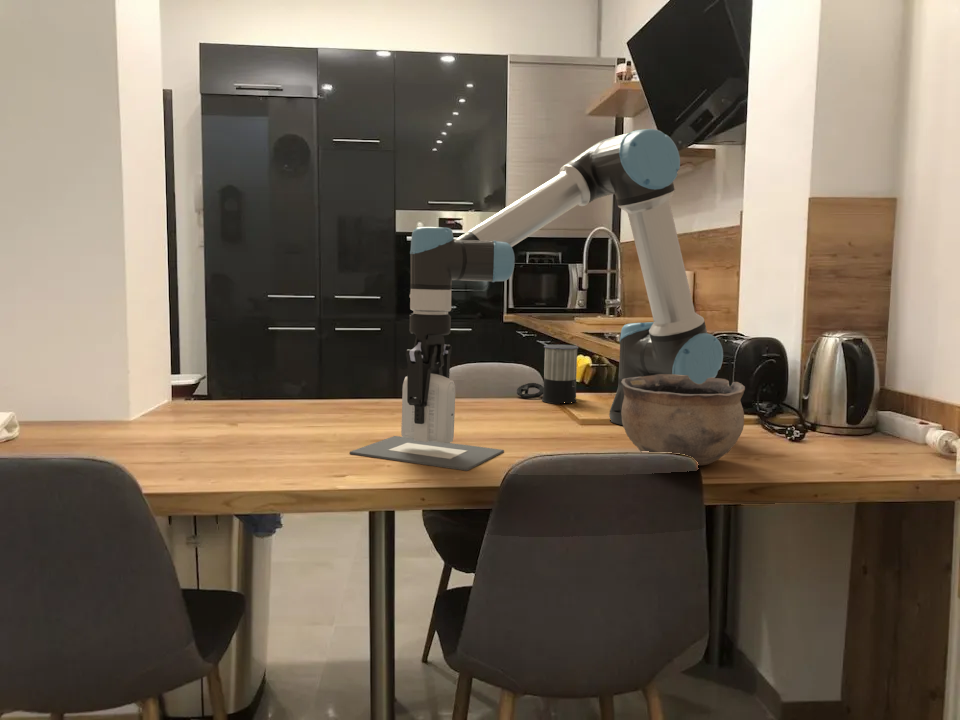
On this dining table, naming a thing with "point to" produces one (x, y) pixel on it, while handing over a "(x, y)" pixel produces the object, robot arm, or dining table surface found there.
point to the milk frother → (556, 376)
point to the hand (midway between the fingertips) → (427, 437)
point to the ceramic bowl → (683, 415)
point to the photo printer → (433, 410)
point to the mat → (428, 452)
